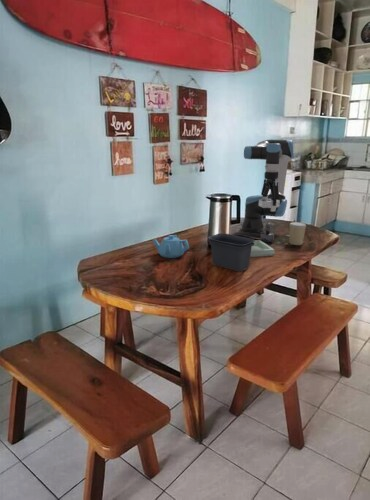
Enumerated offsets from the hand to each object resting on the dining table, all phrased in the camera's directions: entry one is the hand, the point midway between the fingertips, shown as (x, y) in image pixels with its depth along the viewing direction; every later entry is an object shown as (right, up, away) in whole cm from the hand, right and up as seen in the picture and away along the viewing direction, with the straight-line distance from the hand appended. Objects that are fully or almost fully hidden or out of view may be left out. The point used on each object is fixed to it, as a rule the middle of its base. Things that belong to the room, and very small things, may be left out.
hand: (268, 209), depth 217 cm
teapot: (-57, -27, -19) cm, 65 cm away
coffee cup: (+18, -20, +5) cm, 27 cm away
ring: (0, +2, -1) cm, 2 cm away
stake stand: (+1, -19, +7) cm, 20 cm away
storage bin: (-26, -32, -35) cm, 54 cm away
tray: (-12, -24, -11) cm, 30 cm away
